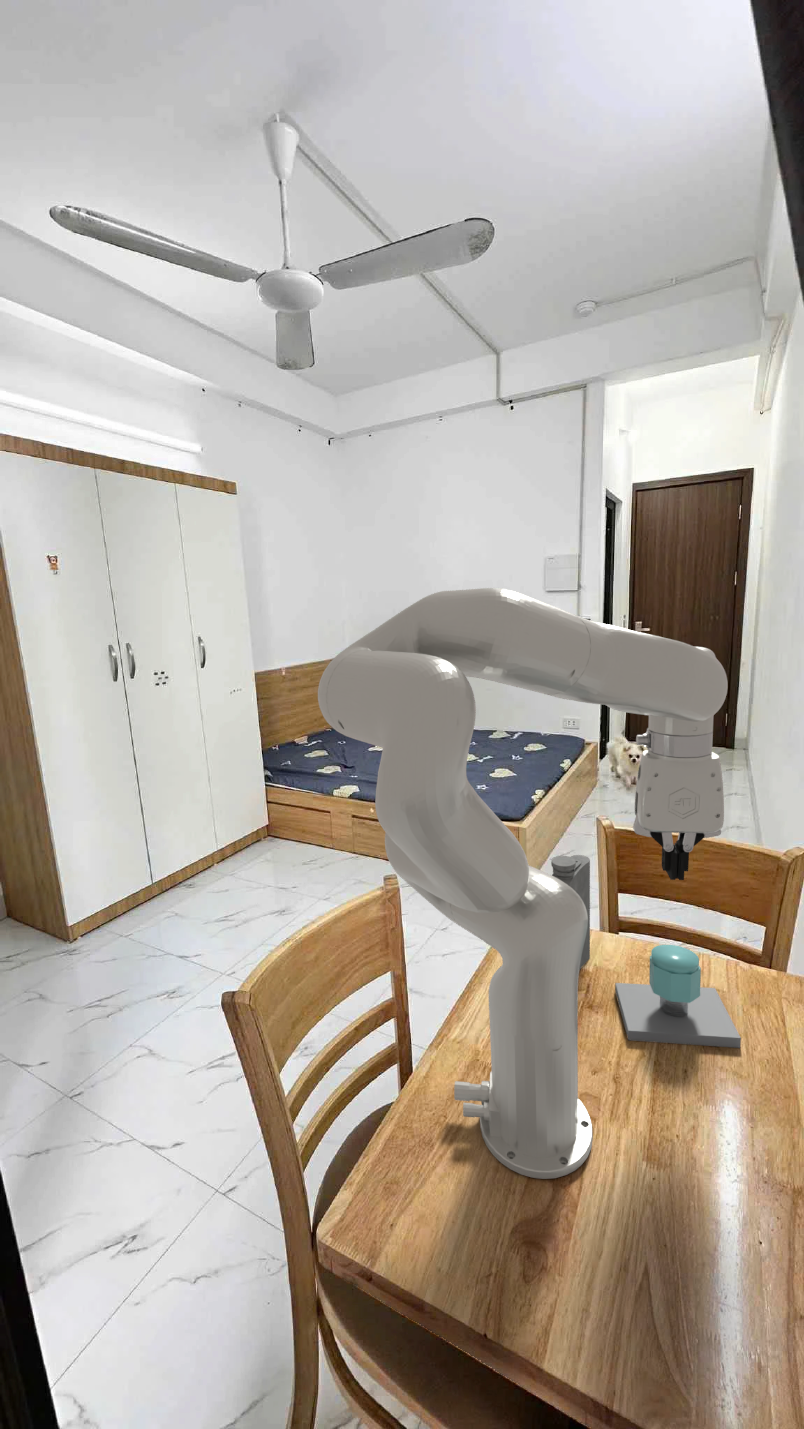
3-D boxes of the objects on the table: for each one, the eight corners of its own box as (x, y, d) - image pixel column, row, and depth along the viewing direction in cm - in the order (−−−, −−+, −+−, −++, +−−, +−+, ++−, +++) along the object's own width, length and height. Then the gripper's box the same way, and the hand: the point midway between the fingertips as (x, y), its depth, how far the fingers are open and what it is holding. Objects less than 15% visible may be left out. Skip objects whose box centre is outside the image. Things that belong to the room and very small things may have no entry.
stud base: (628, 1040, 80) (628, 1030, 80) (615, 991, 90) (615, 982, 90) (740, 1047, 78) (740, 1038, 77) (714, 997, 87) (715, 988, 87)
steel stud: (663, 1016, 82) (664, 970, 81) (656, 999, 86) (658, 954, 84) (691, 1018, 82) (692, 971, 80) (683, 1000, 85) (685, 955, 84)
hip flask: (563, 1011, 86) (562, 886, 82) (536, 1003, 89) (534, 880, 85) (592, 953, 100) (592, 842, 96) (568, 947, 102) (567, 838, 98)
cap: (656, 1000, 80) (657, 965, 80) (646, 976, 86) (646, 943, 86) (704, 1003, 79) (705, 968, 79) (690, 978, 85) (691, 945, 85)
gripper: (623, 751, 74) (621, 886, 78) (754, 750, 71) (745, 891, 75) (613, 737, 81) (611, 861, 85) (732, 735, 78) (724, 864, 82)
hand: (674, 875), depth 80 cm, fingers closed
